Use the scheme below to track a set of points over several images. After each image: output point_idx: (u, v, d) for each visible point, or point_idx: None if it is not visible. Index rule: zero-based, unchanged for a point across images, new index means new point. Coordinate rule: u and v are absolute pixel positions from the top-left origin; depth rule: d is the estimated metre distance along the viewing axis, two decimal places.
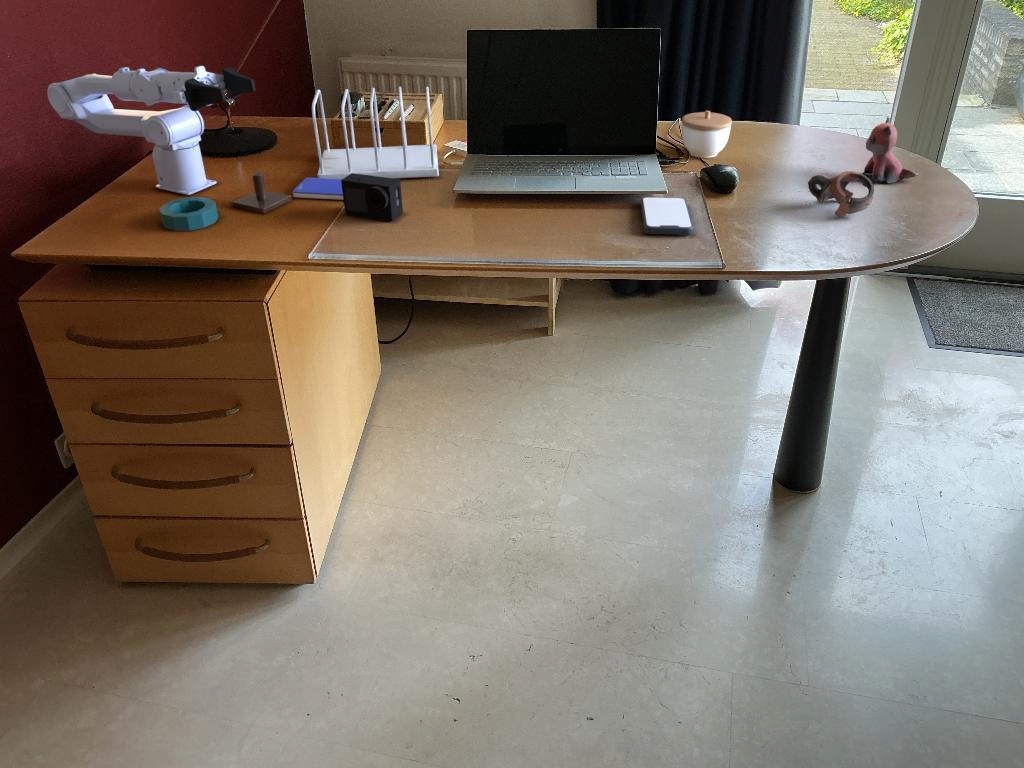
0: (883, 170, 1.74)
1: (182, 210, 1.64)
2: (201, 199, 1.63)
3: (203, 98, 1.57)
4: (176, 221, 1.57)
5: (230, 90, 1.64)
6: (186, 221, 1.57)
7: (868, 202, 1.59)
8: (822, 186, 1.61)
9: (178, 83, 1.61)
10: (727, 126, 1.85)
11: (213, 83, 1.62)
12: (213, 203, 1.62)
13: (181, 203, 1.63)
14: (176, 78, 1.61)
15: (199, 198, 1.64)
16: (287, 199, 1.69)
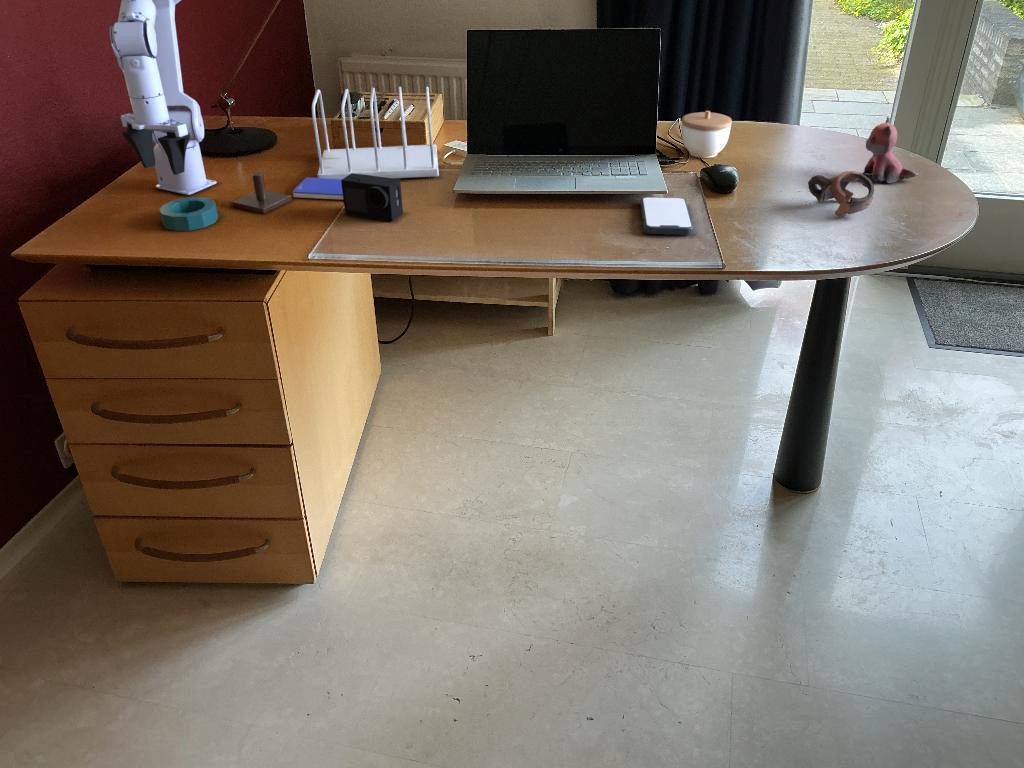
0: (883, 170, 1.74)
1: (182, 210, 1.64)
2: (201, 199, 1.63)
3: None
4: (176, 221, 1.57)
5: None
6: (186, 221, 1.57)
7: (868, 202, 1.59)
8: (822, 186, 1.61)
9: None
10: (727, 126, 1.85)
11: None
12: (213, 203, 1.62)
13: (181, 203, 1.63)
14: None
15: (199, 198, 1.64)
16: (287, 199, 1.69)
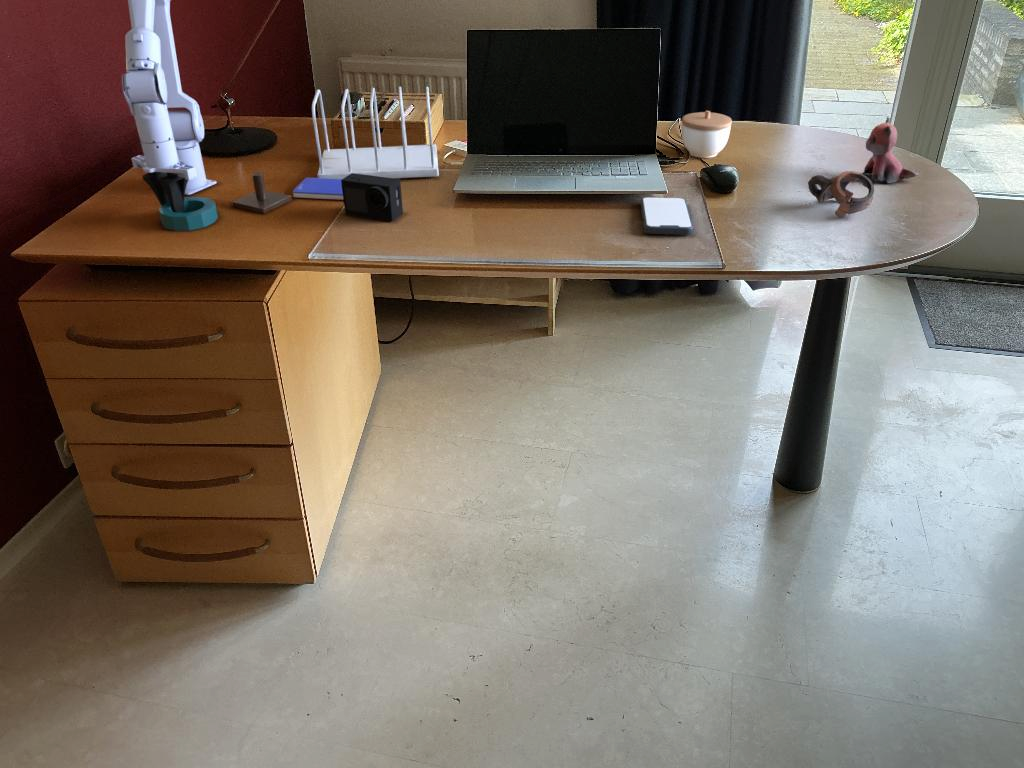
0: (883, 170, 1.74)
1: (182, 210, 1.64)
2: (200, 199, 1.63)
3: None
4: (175, 221, 1.57)
5: None
6: (186, 221, 1.57)
7: (868, 202, 1.59)
8: (822, 186, 1.61)
9: None
10: (727, 126, 1.85)
11: None
12: (213, 203, 1.62)
13: None
14: (140, 140, 1.55)
15: (199, 198, 1.64)
16: (287, 199, 1.69)
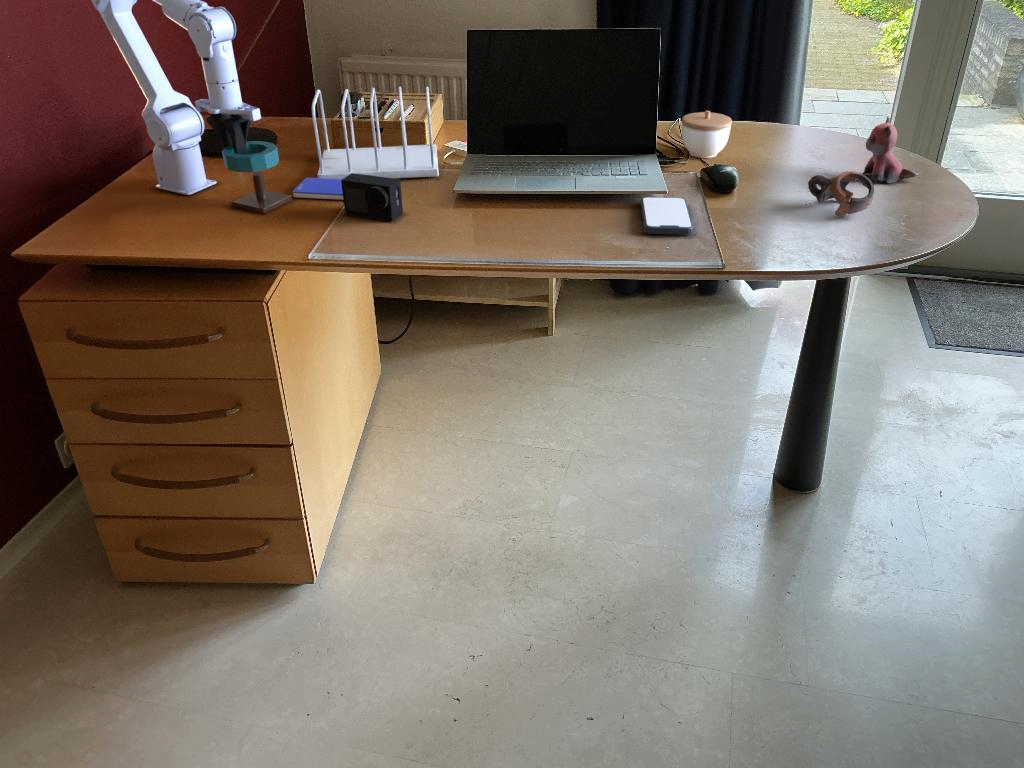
0: (883, 170, 1.74)
1: None
2: (261, 143, 1.66)
3: None
4: (240, 162, 1.59)
5: None
6: (250, 162, 1.59)
7: (868, 202, 1.59)
8: (822, 186, 1.61)
9: None
10: (727, 126, 1.85)
11: None
12: (275, 146, 1.64)
13: None
14: (206, 82, 1.57)
15: (260, 142, 1.66)
16: (287, 199, 1.69)
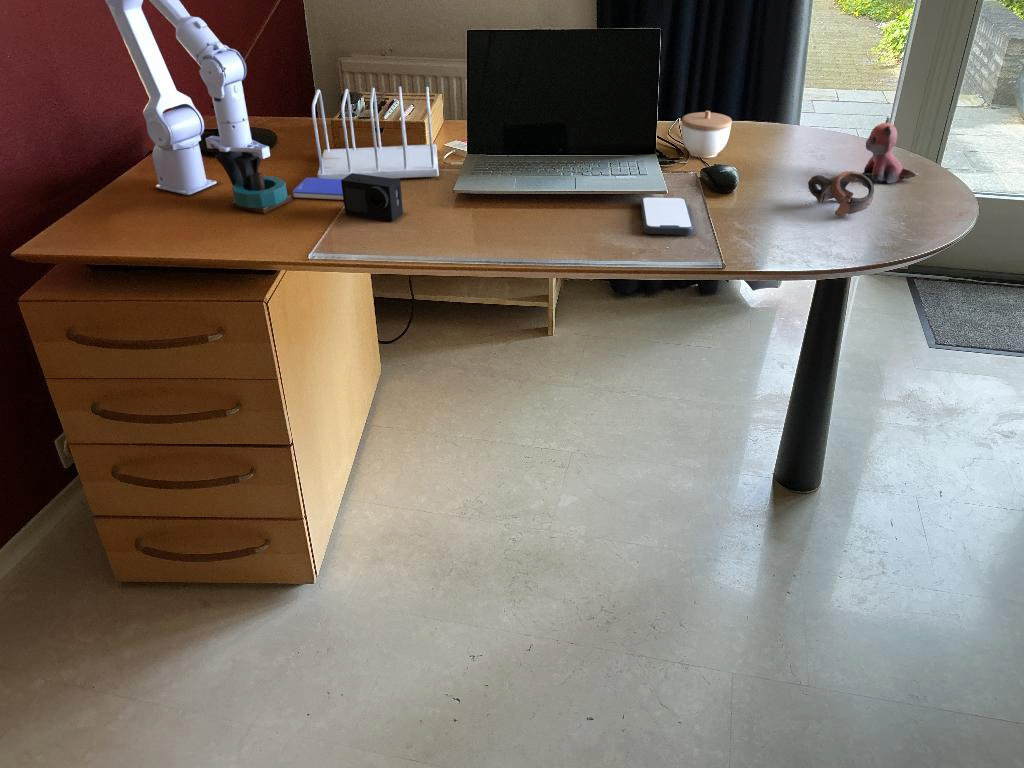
0: (883, 170, 1.74)
1: None
2: (270, 178, 1.70)
3: None
4: (249, 198, 1.63)
5: None
6: (259, 198, 1.63)
7: (868, 202, 1.59)
8: (822, 186, 1.61)
9: None
10: (727, 126, 1.85)
11: None
12: (283, 182, 1.68)
13: None
14: None
15: (268, 177, 1.70)
16: (287, 199, 1.69)
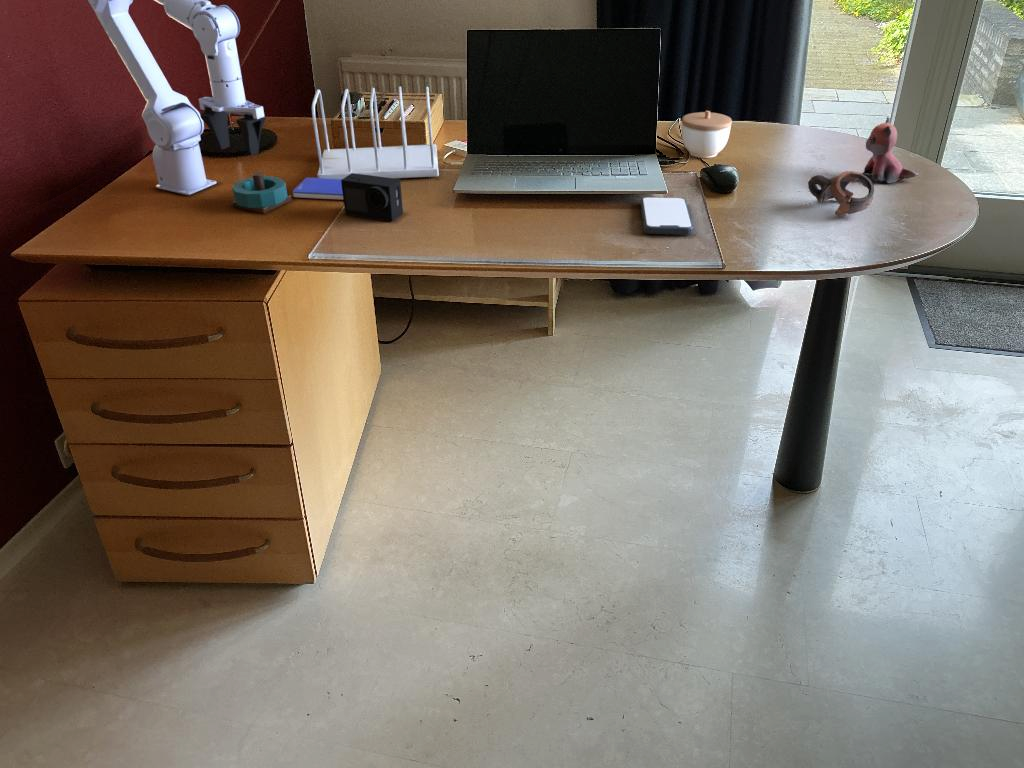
0: (883, 170, 1.74)
1: (252, 189, 1.70)
2: (270, 178, 1.70)
3: None
4: (249, 198, 1.63)
5: None
6: (259, 198, 1.63)
7: (868, 202, 1.59)
8: (822, 186, 1.61)
9: None
10: (727, 126, 1.85)
11: None
12: (283, 182, 1.68)
13: (252, 182, 1.69)
14: (210, 80, 1.58)
15: (268, 177, 1.70)
16: (287, 199, 1.69)
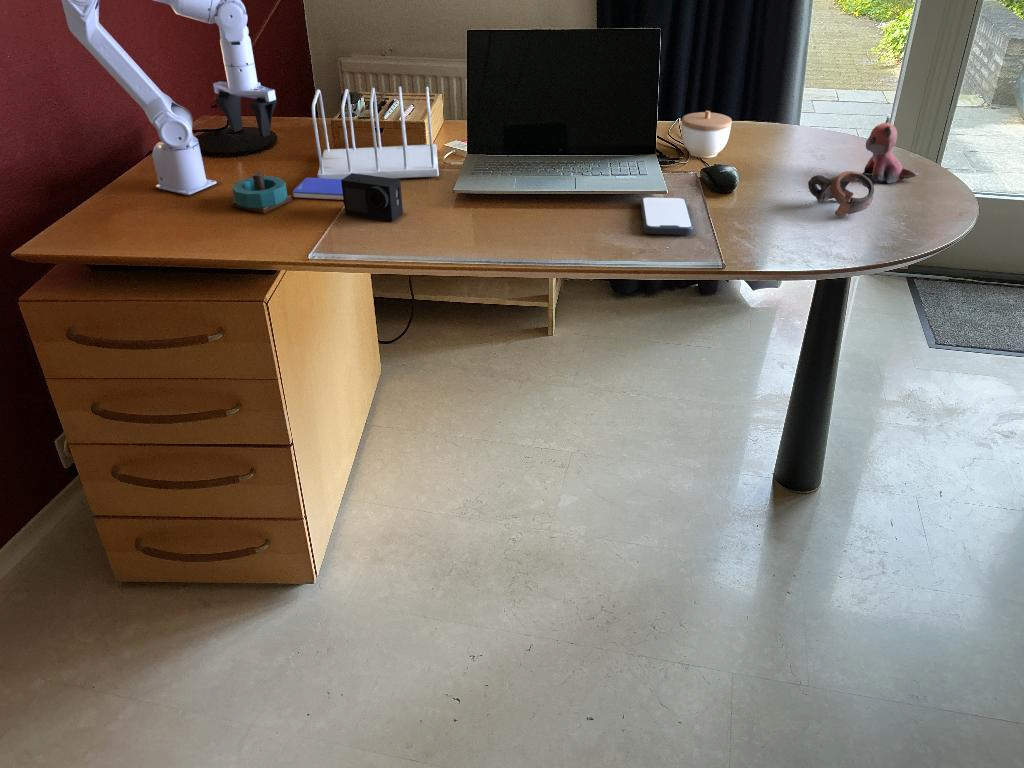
0: (883, 170, 1.74)
1: (252, 189, 1.70)
2: (270, 178, 1.70)
3: None
4: (249, 198, 1.63)
5: (228, 101, 1.72)
6: (259, 198, 1.63)
7: (868, 202, 1.59)
8: (822, 186, 1.61)
9: (254, 68, 1.68)
10: (727, 126, 1.85)
11: None
12: (283, 182, 1.68)
13: (252, 182, 1.69)
14: (253, 62, 1.69)
15: (268, 177, 1.70)
16: (287, 199, 1.69)
